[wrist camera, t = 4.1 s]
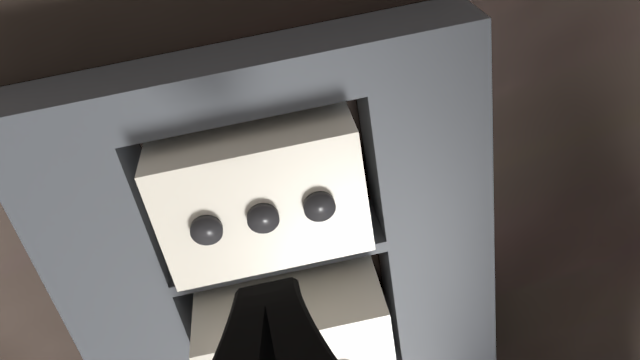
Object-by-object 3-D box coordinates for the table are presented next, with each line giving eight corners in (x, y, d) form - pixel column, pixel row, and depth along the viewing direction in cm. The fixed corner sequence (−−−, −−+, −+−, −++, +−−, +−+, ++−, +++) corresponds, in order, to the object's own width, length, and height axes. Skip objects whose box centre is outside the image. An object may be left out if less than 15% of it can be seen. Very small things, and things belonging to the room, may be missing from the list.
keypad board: (476, 406, 28) (497, 454, 26) (176, 472, 28) (172, 527, 26) (460, -6, 18) (491, 17, 16) (-8, 88, 18) (-40, 125, 16)
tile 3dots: (354, 188, 21) (376, 253, 18) (184, 224, 21) (176, 296, 18) (337, 82, 19) (360, 135, 16) (148, 121, 19) (133, 182, 16)
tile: (379, 327, 23) (403, 408, 20) (222, 361, 23) (222, 448, 20) (367, 244, 21) (391, 319, 18) (194, 280, 21) (188, 363, 18)
